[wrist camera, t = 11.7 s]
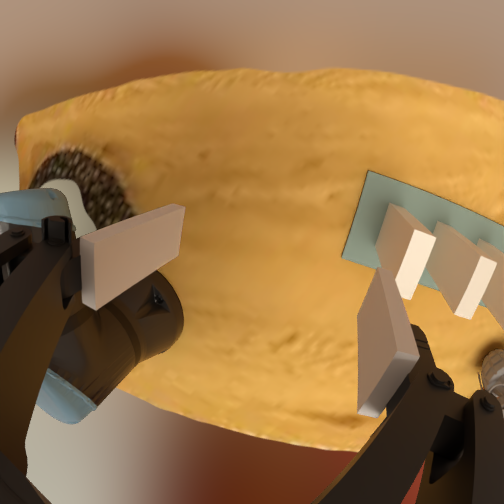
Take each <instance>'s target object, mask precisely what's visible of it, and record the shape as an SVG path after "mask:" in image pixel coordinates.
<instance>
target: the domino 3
mask: <svg viewBox="0 0 504 504" xmlns="http://www.w3.org/2000/svg"><path fill="white" fill-rule="evenodd" d="M477 247H479V248H480V249H481V250H482V251H484V252H485V253H486V254H487V255H489V256H490V257H491V258H492V259H493V260H495V261H496V262H497V265H496V267H495V270H494V272H493V274H492V277H491V279H490V281H489V283H488V286H487V288H486V290H485V292H484V294H483V296H482V298H481V300H482V301H483V303H484V304H485V305H486V307H487V308H488V309H489V311H490V312H491V313H492V315H493V316H494V317H495V319H496V320H497V321H498V323H499V324H500V326H501V327H502V328H503V330H504V253H503V252H501V251H500V250H499V249H497V248H496V247H495V246H493V245H492V244H490V243H488V242H486V241H484V240H482V239H480V238H479V240H478V243H477Z"/></svg>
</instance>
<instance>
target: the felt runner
mask: <svg viewBox="0 0 504 504" xmlns="http://www.w3.org/2000/svg"><path fill="white" fill-rule="evenodd" d="M389 203H392V204H395V205H397V206H400V207H403V208H405V209H406V210H407V211H408V212H409V213H411V214H412V215H413V216H414V217H415V218H416V219H417V220H418V221H419V222H421V223H422V224H423V225H424V226H425V227H426V228H427V229H428V230H429V231H430V232H431V233H432V234H433V232H434V229H435V227H436V224H437V221H439V222H442V223H444V224H447V225H449V226H451V227H453V228H454V229H455V230H457V231H458V232H459V233H461V234H462V235H463V236H465V237H466V238H467V239H468V240H470V241H471V242H472V243H474V244H475V245H476V246H477V243H478V240H479V238H480V239H482V240H484V241H486V242H488V243H490V244H492V245H493V246H495V247H496V248H497V249H499V250H500V251H501V252H503V253H504V227H503V226H501V225H499V224H497V223H495V222H493V221H491V220H489V219H487V218H485V217H483V216H481V215H479V214H477V213H475V212H472V211H470V210H468V209H466V208H464V207H461V206H459V205H457V204H455V203H452V202H450V201H448V200H445V199H443V198H441V197H438V196H436V195H433V194H431V193H428V192H426V191H423V190H421V189H418V188H416V187H413V186H410V185H408V184H405V183H402V182H400V181H397V180H394V179H391V178H388V177H386V176H383V175H380V174H377V173H374V172H371V171H368V173H367V177H366V180H365V184H364V187H363V191H362V194H361V198H360V201H359V204H358V208H357V211H356V214H355V217H354V220H353V224H352V227H351V230H350V233H349V236H348V239H347V242H346V245H345V248H344V251H343V254H342V258H343V259H346V260H349V261H352V262H355V263H358V264H361V265H364V266H367V267H370V268H373V269H377V267H380V268H382V267H381V264H380V260H379V257H378V254H377V251H376V248H375V244H376V241H377V238H378V236H379V233H380V230H381V227H382V224H383V221H384V218H385V215H386V212H387V208H388V205H389ZM418 284H421V285H424V286H427V287H430V288H433V289H435V290H438V291H440V290H439V288H438V287H437V285H436V283H435V282H434V280H433V279H432V277H431V275H430V274H429V272H428V271H427V269H426V268H424V270H423V273H422V275H421V277H420V280H419V282H418ZM478 305H481V306H484V307H486V305H485V304H484V303H483V301H482V300H480V302H479V304H478ZM486 308H487V307H486Z"/></svg>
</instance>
